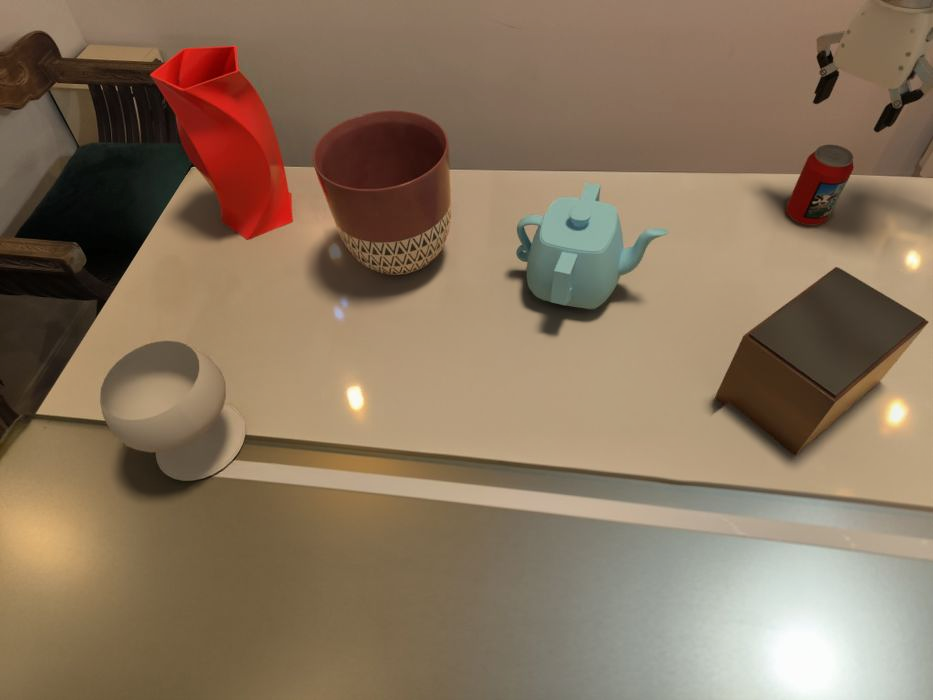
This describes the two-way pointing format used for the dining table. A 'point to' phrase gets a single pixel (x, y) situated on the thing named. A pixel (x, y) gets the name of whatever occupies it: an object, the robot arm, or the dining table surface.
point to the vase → (228, 137)
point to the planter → (388, 188)
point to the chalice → (173, 409)
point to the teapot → (579, 250)
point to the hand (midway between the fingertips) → (849, 114)
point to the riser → (817, 357)
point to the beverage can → (820, 184)
